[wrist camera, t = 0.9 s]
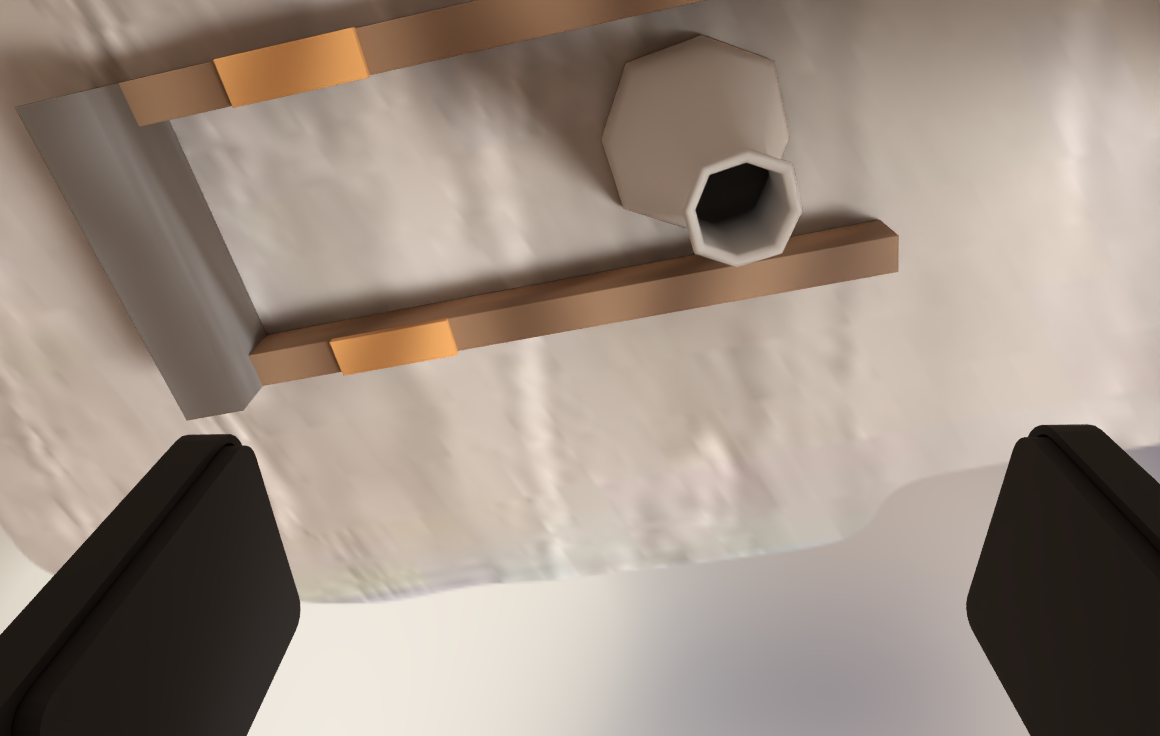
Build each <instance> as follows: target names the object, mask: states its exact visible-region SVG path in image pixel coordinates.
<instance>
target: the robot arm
mask: <svg viewBox="0 0 1160 736" xmlns="http://www.w3.org/2000/svg"><path fill="white" fill-rule="evenodd" d="M966 606H967V607H966V610H967V617H968V621H969V624H970V626H971V629H972V631H973V632H974V634H975V636H976V638H977V640H978V642H979V643H980V645H981V647H982V649H983V651H984V653H985V654H986V656H987V658H988V660H989V662H990V663H991V665H992V667H993V669H994V671H995V672H996V674H997V676H998V678H999V680H1000V681H1001V683H1002V685H1003V687H1004V689H1005V690H1006V692H1007V694H1008V696H1009V697H1010V699H1011V701H1012V702H1013V705H1014V707H1015V708H1016V710H1017V712H1018V714H1019V716H1020V717H1021V719H1022V721H1023V723H1024V725H1025V726H1026V728H1027V730H1028V732H1029V734H1030V735H1031V736H1160V484H1159V483H1158V482H1157V481H1156V480H1155V479H1154V478H1153V477H1152V476H1151V475H1149V474H1148V473H1147V472H1146V471H1145V470H1144V469H1143V468H1142V467H1141V466H1140V465H1138V464H1137V463H1136V462H1135V461H1134V460H1133V459H1132V458H1131V457H1130V456H1129V455H1128V454H1127V453H1126V452H1125V451H1124V450H1123V449H1122V448H1120V447H1119V446H1118V445H1117V444H1116V443H1115V442H1114V441H1113V440H1112V439H1111V438H1110V437H1109V436H1108V435H1106V434H1105V433H1104V432H1103V431H1102V430H1101V429H1099V428H1098V427H1096V426H1093V425H1088V424H1086V425H1040V426H1037V427H1035V428H1034V429H1033V430H1032V431H1031V432H1030V434H1029V436H1028V437H1024V438H1021V439H1019V440H1018V441H1017V442H1016V444H1015V446H1014V449H1013V452H1012V455H1011V458H1010V461H1009V465H1008V468H1007V471H1006V474H1005V478H1004V481H1003V484H1002V487H1001V490H1000V494H999V497H998V500H997V504H996V507H995V510H994V513H993V517H992V519H991V523H990V526H989V529H988V532H987V536H986V539H985V542H984V545H983V548H982V551H981V555H980V558H979V561H978V564H977V567H976V571H975V574H974V577H973V580H972V584H971V587H970V590H969V593H968V596H967V603H966ZM299 618H300V600H299V596H298V592H297V589H296V586H295V583H294V579H293V576H292V573H291V569H290V566H289V563H288V560H287V556H286V553H285V550H284V547H283V543H282V540H281V537H280V534H279V530H278V527H277V524H276V521H275V517H274V514H273V511H272V508H271V504H270V501H269V498H268V495H267V491H266V488H265V485H264V482H263V478H262V475H261V472H260V469H259V465H258V462H257V459H256V456H255V454H254V451H253V450H252V449H251V448H250V447H249V446H242V444H241V442H240V441H239V440H238V438H237V437H236V436H233V435H231V434H211V435H185V436H182V437H181V438H179V439H178V440H177V441H176V442H175V443H174V444H173V445H172V446H171V447H170V448H169V449H168V451H167V452H166V453H165V454H164V455H163V456H162V457H161V458H160V459H159V461H158V462H157V463H156V464H155V465H154V466H153V467H152V468H151V469H150V470H149V472H148V473H147V474H146V475H145V476H144V477H143V478H142V479H141V480H140V481H139V483H138V484H137V485H136V486H135V487H134V488H133V489H132V490H131V491H130V492H129V494H128V495H127V496H126V497H125V498H124V499H123V500H122V501H121V502H120V504H119V505H118V506H117V507H116V508H115V509H114V510H113V511H112V512H111V513H110V515H109V516H108V517H107V518H106V519H105V520H104V521H103V522H102V523H101V524H100V526H99V527H98V528H97V529H96V530H95V531H94V532H93V533H92V534H91V536H90V537H89V538H88V539H87V540H86V541H85V542H84V543H83V544H82V545H81V547H80V548H79V549H78V550H77V551H76V552H75V553H74V554H73V555H72V556H71V558H70V559H69V560H68V561H67V562H66V563H65V564H64V565H63V566H62V567H61V569H60V570H59V571H58V572H57V573H56V574H55V575H54V576H53V577H52V579H51V580H50V581H49V582H48V583H47V584H46V585H45V586H44V587H43V588H42V590H41V591H40V592H39V593H38V594H37V595H36V596H35V597H34V599H32V601H31V602H30V603H29V604H28V605H27V606H26V607H25V609H23V610H22V612H21V613H20V614H19V615H18V616H17V617H16V618H15V619H14V620H13V622H12V623H11V624H10V625H9V626H8V627H7V628H6V629H5V630H4V631H3V633H2V634H1V635H0V736H247V734H248V732H249V729H250V727H251V725H252V723H253V721H254V719H255V717H256V714H257V712H258V710H259V708H260V706H261V704H262V702H263V699H264V697H265V695H266V693H267V691H268V689H269V686H270V684H271V682H272V680H273V678H274V676H275V674H276V672H277V670H278V667H279V665H280V663H281V661H282V659H283V656H284V655H285V652H286V650H287V648H288V646H289V644H290V642H291V640H292V637H293V635H294V633H295V631H296V628H297V626H298V622H299Z"/></svg>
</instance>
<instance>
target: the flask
mask: <svg viewBox="0 0 1160 736" xmlns="http://www.w3.org/2000/svg"><path fill="white" fill-rule="evenodd" d="M789 138H790V136H789V131H788V126H787V122H786V117H785V112H784V107H783V102H782V97H781V92H780V87H779V82H778V77H777V72H776V67H775V62H774V61H773V60H770V59H767V58H764V57H762V56H759V55H756V54H753V53H750V52H748V51H745V50H742V49H739V48H737V47H734V46H731V45H728V44H725V43H723V42H720V41H717V40H714V39H712V38H709V37H706V36H703V35H700V36H697V37H695V38H692V39H689V40H687V41H684V42H681V43H678V44H676V45H673V46H670V47H668V48H665V49H662V50H660V51H657V52H654V53H651V54H649V55H646V56H643V57H641V58H638V59H635V60H633V61H630V62H627V63H626V64H625V67H624V70H623V73H622V76H621V80H620V83H619V86H618V89H617V92H616V95H615V98H614V101H613V104H612V107H611V110H610V114H609V117H608V120H607V123H606V126H605V129H604V132H603V135H602V138H601V140H602V144H603V147H604V150H605V153H606V156H607V159H608V162H609V165H610V168H611V171H612V174H613V177H614V181H615V184H616V187H617V190H618V193H619V196H620V199H621V202H622V205H623V208H624V209H627V210H630V211H633V212H636V213H640V214H643V215H646V216H649V217H652V218H655V219H658V220H662V221H665V222H668V223H671V224H674V225H677V226H680V227H683V228H687V230H688V234H689V237H690V241H691V244H692V248H693V251H694V253H695V254H697V255H700V256H703V257H706V258H709V259H712V260H716V261H719V262H722V263H725V264H728V265H731V266H735V267H740V266H743V265H746V264H749V263H753V262H756V261H759V260H762V259H765V258H768V257H772V256H775V255H778V254H781V253H783V250H784V248H785V246H786V244H787V242H788V240H789V238H790V236H791V234H792V232H793V230H794V227H795V225H796V223H797V221H798V219H799V217H800V215H801V213H802V211H803V210H802V205H801V200H800V195H799V190H798V185H797V180H796V175H795V170H794V166H793V164H792V163H791V162H788V161H785V160H782V159H780V158H781V156H782V154H783V151H784V149H785V147H786V145H787V142H788V140H789Z"/></svg>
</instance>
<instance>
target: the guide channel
mask: <svg viewBox="0 0 1160 736" xmlns="http://www.w3.org/2000/svg"><path fill="white" fill-rule="evenodd" d="M699 1H704V0H475V1H471V2H467V3H462V4H458V5H454V6H449V7H445V8H441V9H436V10H432V11H428V12H423V13H419V14H415V15H411V16H406V17H402V18H398V19H393V20H389V21H385V22H380V23H376V24H372V25H367V26H363V27H359V28H355V27H352V28H347V29H343V30H339V31H334V32H330V33H326V34H321V35H317V36H313V37H309V38H304V39H300V40H296V41H291V42H287V43H283V44H278V45H274V46H270V47H265V48H261V49H257V50H252V51H248V52H244V53H239V54H235V55H231V56H226V57H222V58H218V59H213V60H214V61H211V62H207V63H203V64H198V65H194V66H190V67H185V68H181V69H177V70H172V71H168V72H164V73H159V74H155V75H151V76H146V77H142V78H138V79H133V80H129V81H125V82H120V83H116V84H112V85H107V86H103V87H99V88H95V89H90V90H86V91H82V92H77V93H73V94H69V95H65V96H60V97H56V98H52V99H48V100H43V101H39V102H35V103H31V104H26V105H22V106H18V107H15V109H16V111H17V112H18V114H19V116H20V118H21V120H22V121H23V123H24V125H25V127H26V129H27V131H28V132H29V134H30V136H31V138H32V140H33V142H34V143H35V145H36V147H37V149H38V151H39V152H40V154H41V156H42V158H43V160H44V162H45V163H46V165H47V167H48V169H49V171H50V172H51V174H52V176H53V178H54V180H55V182H56V183H57V185H58V187H59V189H60V191H61V192H62V194H63V196H64V198H65V200H66V202H67V203H68V205H69V207H70V209H71V211H72V212H73V214H74V216H75V218H76V220H77V222H78V223H79V225H80V227H81V229H82V231H83V233H84V234H85V236H86V238H87V240H88V242H89V243H90V245H91V247H92V249H93V251H94V253H95V254H96V256H97V258H98V260H99V262H100V263H101V265H102V267H103V269H104V271H105V273H106V274H107V276H108V278H109V280H110V282H111V283H112V285H113V287H114V289H115V291H116V293H117V294H118V296H119V298H120V300H121V302H122V304H123V305H124V307H125V309H126V311H127V313H128V314H129V316H130V318H131V320H132V322H133V324H134V325H135V327H136V329H137V331H138V333H139V334H140V336H141V338H142V340H143V342H144V344H145V345H146V347H147V349H148V351H149V353H150V354H151V356H152V358H153V360H154V362H155V364H156V365H157V367H158V369H159V371H160V373H161V375H162V376H163V378H164V380H165V382H166V384H167V385H168V387H169V389H170V391H171V393H172V395H173V396H174V398H175V400H176V402H177V404H178V405H179V407H180V409H181V411H182V413H183V415H184V416H185V418H186V420H192V419H198V418H204V417H209V416H215V415H221V414H226V413H232V412H238V411H243V410H244V409H245V408H246V407H247V405H248V404H249V403H250V401H251V400H252V399H253V398H254V396H255V395H256V394H257V393H258V391H259V390H260V389H261V387H262V386H265V385H270V384H276V383H281V382H287V381H293V380H298V379H304V378H309V377H315V376H320V375H326V374H331V373H337V372H342V374H343V375H349V374H355V373H360V372H366V371H371V370H377V369H383V368H388V367H394V366H399V365H405V364H410V363H416V362H422V361H427V360H433V359H438V358H444V357H450V356H455V355H457V354H458V351H460V350H465V349H471V348H476V347H482V346H487V345H493V344H499V343H504V342H510V341H515V340H521V339H526V338H532V337H537V336H543V335H549V334H554V333H560V332H565V331H571V330H576V329H582V328H588V327H593V326H599V325H604V324H610V323H615V322H621V321H627V320H632V319H638V318H643V317H649V316H654V315H660V314H666V313H671V312H677V311H682V310H688V309H693V308H699V307H705V306H710V305H716V304H721V303H727V302H732V301H738V300H744V299H749V298H755V297H760V296H766V295H771V294H777V293H782V292H788V291H794V290H799V289H805V288H810V287H816V286H821V285H827V284H833V283H838V282H844V281H849V280H855V279H860V278H866V277H872V276H877V275H883V274H888V273H894V272H898V243H899V236H898V235H897V234H896V233H895V232H894V231H893V230H891V229H890V228H889V227H888V226H887V225H885V224H884V223H883V222H882V221H881V220H877V221H872V222H867V223H861V224H856V225H851V226H845V227H840V228H834V229H829V230H824V231H818V232H813V233H808V234H802V235H797V236H792V237H790V238H789V240H788V242H787V244H786V246H785V248H784V250H783V253H781V254H778V255H775V256H772V257H768V258H765V259H762V260H759V261H756V262H753V263H749V264H746V265H743V266H740V267H735V266H731V265H728V264H725V263H722V262H719V261H716V260H712V259H709V258H706V257H703V256H700V255H697V254H696V255H690V256H685V257H680V258H674V259H669V260H664V261H658V262H653V263H648V264H642V265H637V266H632V267H626V268H621V269H616V270H610V271H605V272H600V273H594V274H589V275H584V276H578V277H573V278H568V279H562V280H557V281H552V282H546V283H541V284H535V285H530V286H525V287H519V288H514V289H509V290H503V291H498V292H493V293H487V294H482V295H477V296H471V297H466V298H461V299H455V300H450V301H445V302H439V303H434V304H429V305H423V306H418V307H413V308H407V309H402V310H397V311H391V312H386V313H381V314H375V315H370V316H365V317H359V318H354V319H349V320H343V321H338V322H333V323H327V324H322V325H317V326H311V327H306V328H301V329H295V330H290V331H285V332H279V333H274V334H269V335H267V334H266V332H265V330H264V328H263V325H262V323H261V321H260V319H259V317H258V314H257V312H256V310H255V308H254V306H253V303H252V301H251V299H250V297H249V295H248V292H247V290H246V288H245V286H244V284H243V281H242V279H241V277H240V275H239V273H238V270H237V268H236V266H235V264H234V262H233V260H232V257H231V255H230V253H229V251H228V249H227V246H226V244H225V242H224V240H223V238H222V235H221V233H220V231H219V229H218V227H217V224H216V222H215V220H214V218H213V216H212V213H211V211H210V209H209V207H208V205H207V202H206V200H205V198H204V196H203V194H202V191H201V189H200V187H199V185H198V183H197V181H196V178H195V176H194V174H193V172H192V170H191V167H190V165H189V163H188V161H187V159H186V156H185V154H184V152H183V150H182V148H181V145H180V143H179V141H178V139H177V137H176V134H175V132H174V130H173V128H172V126H171V123H170V121H169V120H171V119H176V118H180V117H185V116H189V115H193V114H198V113H202V112H207V111H211V110H216V109H220V108H225V107H229V106H232V107H233V108H234V107H239V106H243V105H248V104H252V103H257V102H261V101H266V100H270V99H275V98H279V97H284V96H288V95H293V94H297V93H302V92H306V91H311V90H315V89H320V88H324V87H329V86H333V85H338V84H342V83H346V82H351V81H355V80H360V79H364V78H368V77H370V75H372V74H377V73H381V72H386V71H390V70H395V69H399V68H404V67H408V66H413V65H417V64H422V63H426V62H431V61H435V60H440V59H444V58H449V57H453V56H457V55H462V54H466V53H471V52H475V51H480V50H484V49H489V48H493V47H498V46H502V45H507V44H511V43H516V42H520V41H525V40H529V39H534V38H538V37H543V36H547V35H551V34H556V33H560V32H565V31H569V30H574V29H578V28H583V27H587V26H592V25H596V24H601V23H605V22H610V21H614V20H619V19H623V18H628V17H632V16H636V15H641V14H645V13H650V12H654V11H659V10H663V9H668V8H672V7H677V6H681V5H686V4H690V3H695V2H699Z"/></svg>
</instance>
